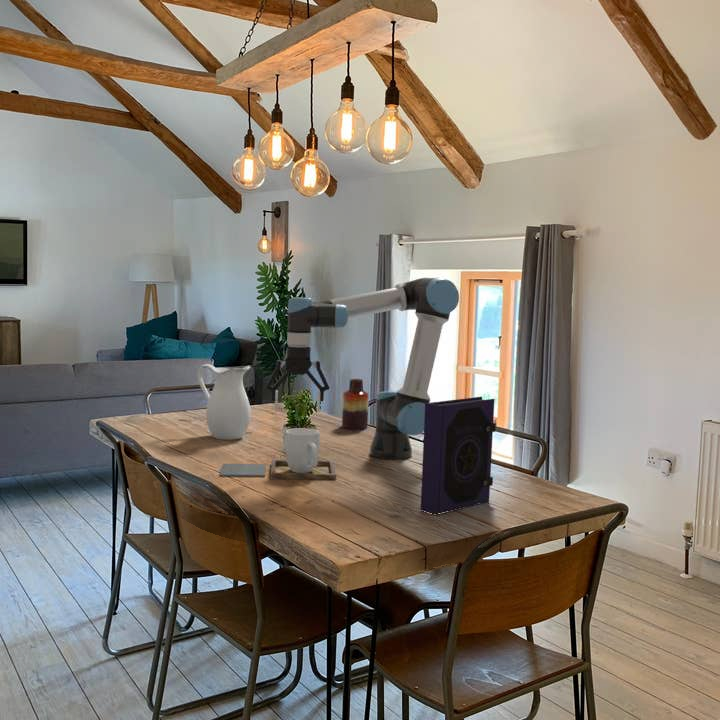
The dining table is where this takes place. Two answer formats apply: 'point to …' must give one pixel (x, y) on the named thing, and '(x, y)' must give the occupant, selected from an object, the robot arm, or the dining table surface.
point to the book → (457, 454)
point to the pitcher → (226, 403)
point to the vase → (355, 406)
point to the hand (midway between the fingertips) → (297, 411)
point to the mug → (302, 449)
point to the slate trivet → (243, 470)
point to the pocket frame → (302, 475)
